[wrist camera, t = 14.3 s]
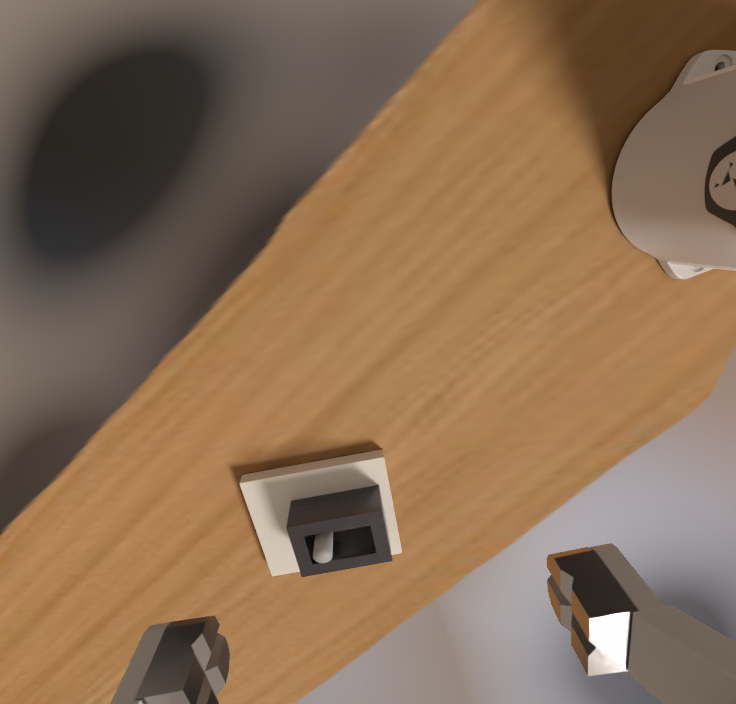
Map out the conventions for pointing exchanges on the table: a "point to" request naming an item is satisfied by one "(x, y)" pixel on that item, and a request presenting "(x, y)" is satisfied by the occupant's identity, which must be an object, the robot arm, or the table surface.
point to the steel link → (336, 515)
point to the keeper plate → (282, 485)
